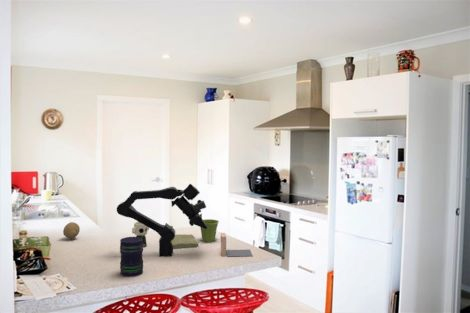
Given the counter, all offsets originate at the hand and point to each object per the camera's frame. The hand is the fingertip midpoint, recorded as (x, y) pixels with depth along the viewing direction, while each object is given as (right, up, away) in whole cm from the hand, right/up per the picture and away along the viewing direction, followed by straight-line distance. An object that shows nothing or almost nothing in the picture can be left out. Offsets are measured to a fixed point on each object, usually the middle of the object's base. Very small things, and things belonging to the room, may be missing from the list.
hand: (206, 228), depth 204 cm
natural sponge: (-80, -12, +27) cm, 86 cm away
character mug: (-37, -13, +14) cm, 42 cm away
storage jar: (-31, -15, -28) cm, 45 cm away
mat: (+16, -13, +2) cm, 21 cm away
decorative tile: (-17, -13, +20) cm, 29 cm away
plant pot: (-1, -12, +27) cm, 30 cm away
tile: (+8, -13, +1) cm, 16 cm away
